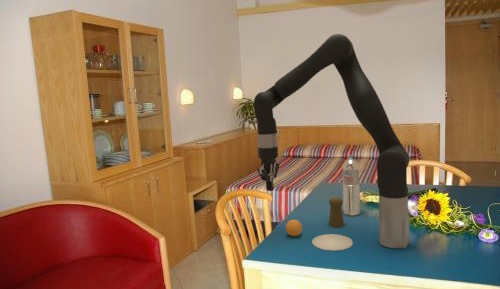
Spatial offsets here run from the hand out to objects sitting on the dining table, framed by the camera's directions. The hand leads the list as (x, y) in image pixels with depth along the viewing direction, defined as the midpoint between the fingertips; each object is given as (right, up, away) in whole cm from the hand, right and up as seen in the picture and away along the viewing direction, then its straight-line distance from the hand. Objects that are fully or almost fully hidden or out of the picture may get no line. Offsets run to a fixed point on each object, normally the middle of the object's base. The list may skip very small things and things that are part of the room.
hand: (269, 190), depth 153 cm
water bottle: (+36, -12, +18) cm, 41 cm away
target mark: (+21, -17, -11) cm, 29 cm away
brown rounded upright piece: (+27, -14, +6) cm, 31 cm away
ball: (+9, -14, -3) cm, 16 cm away
